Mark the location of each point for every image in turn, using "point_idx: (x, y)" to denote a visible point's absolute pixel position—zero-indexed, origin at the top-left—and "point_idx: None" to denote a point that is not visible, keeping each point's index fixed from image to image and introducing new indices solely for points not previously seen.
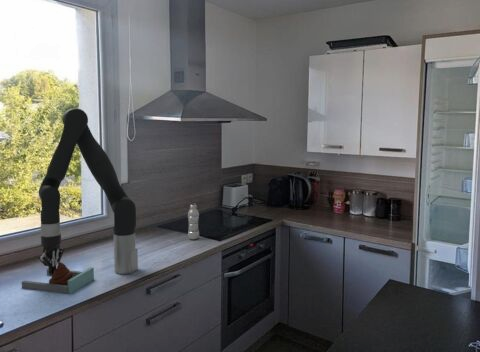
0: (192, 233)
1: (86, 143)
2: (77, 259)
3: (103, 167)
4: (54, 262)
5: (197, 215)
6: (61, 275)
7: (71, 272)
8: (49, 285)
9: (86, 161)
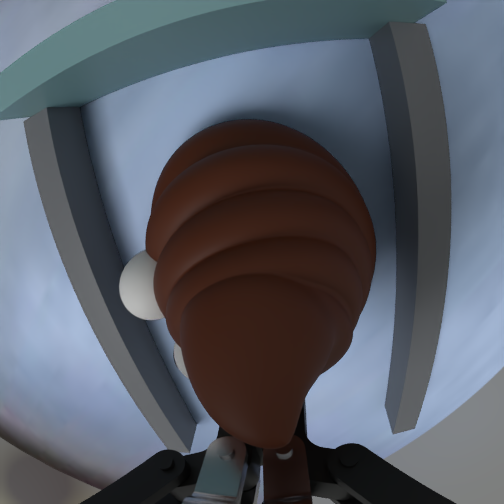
0: None
1: None
2: (16, 397)
3: None
4: (244, 475)
5: None
6: (345, 216)
7: (172, 192)
8: (450, 230)
9: None
